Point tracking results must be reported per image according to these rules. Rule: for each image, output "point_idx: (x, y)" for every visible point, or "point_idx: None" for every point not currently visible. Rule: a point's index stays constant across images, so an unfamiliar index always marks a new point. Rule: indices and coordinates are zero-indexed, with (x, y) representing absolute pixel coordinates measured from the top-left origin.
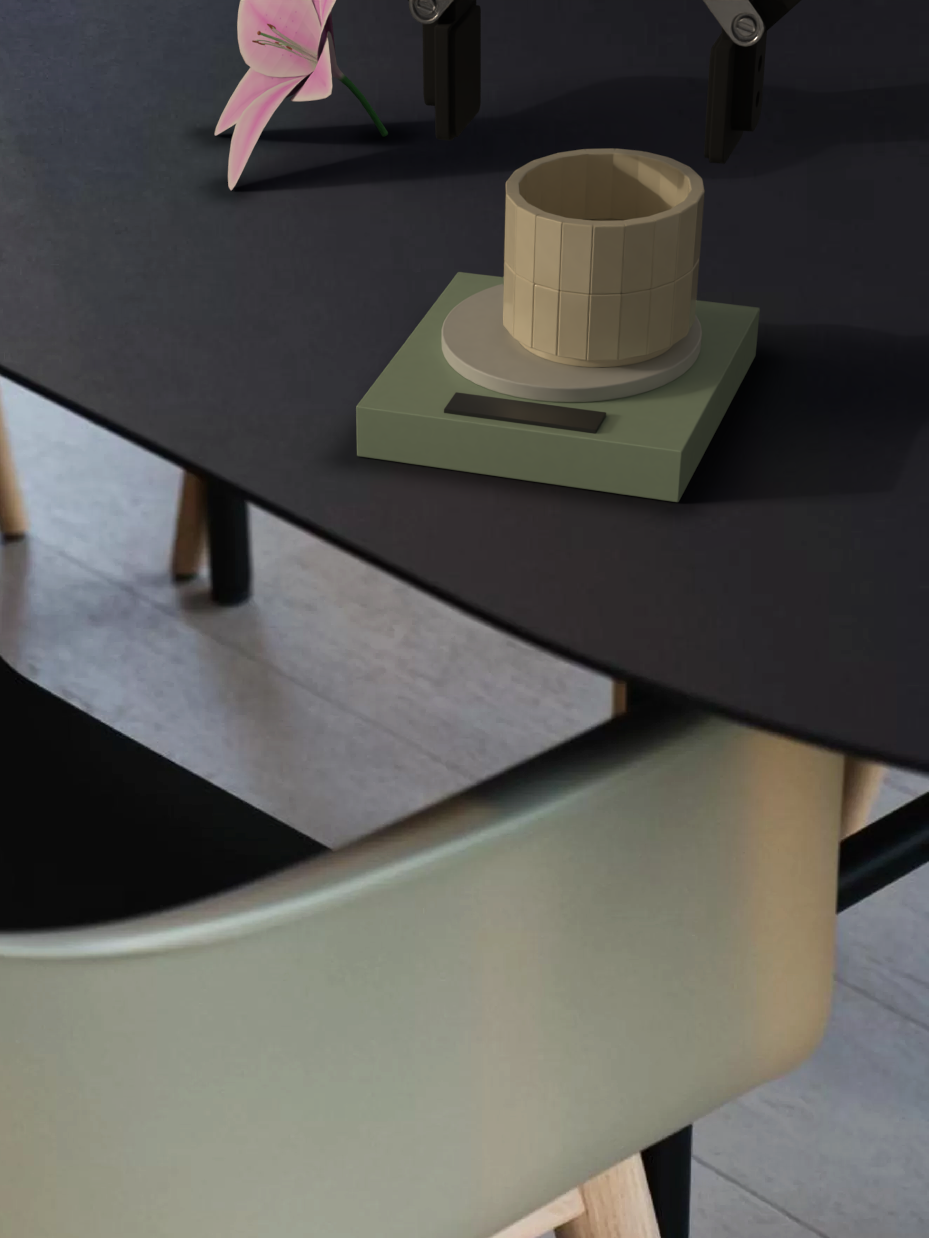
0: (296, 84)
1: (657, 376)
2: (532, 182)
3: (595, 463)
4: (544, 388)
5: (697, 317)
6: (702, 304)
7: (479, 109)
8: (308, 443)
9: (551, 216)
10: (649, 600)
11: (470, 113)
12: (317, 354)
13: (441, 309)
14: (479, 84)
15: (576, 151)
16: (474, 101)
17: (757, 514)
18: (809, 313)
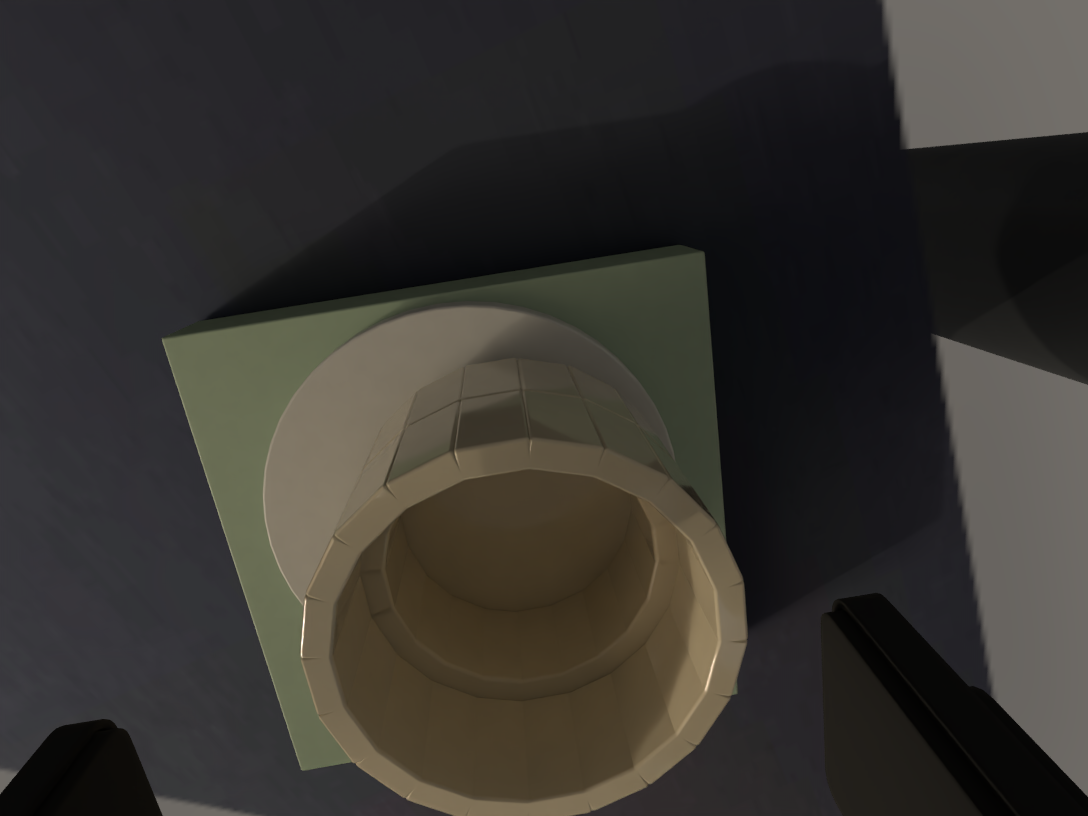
0: None
1: None
2: (340, 616)
3: None
4: None
5: (621, 332)
6: (612, 284)
7: (125, 730)
8: (244, 715)
9: (495, 809)
10: (749, 810)
11: (143, 812)
12: (83, 513)
13: (228, 483)
14: (85, 791)
15: (375, 509)
16: (119, 797)
17: (805, 629)
18: (713, 43)
